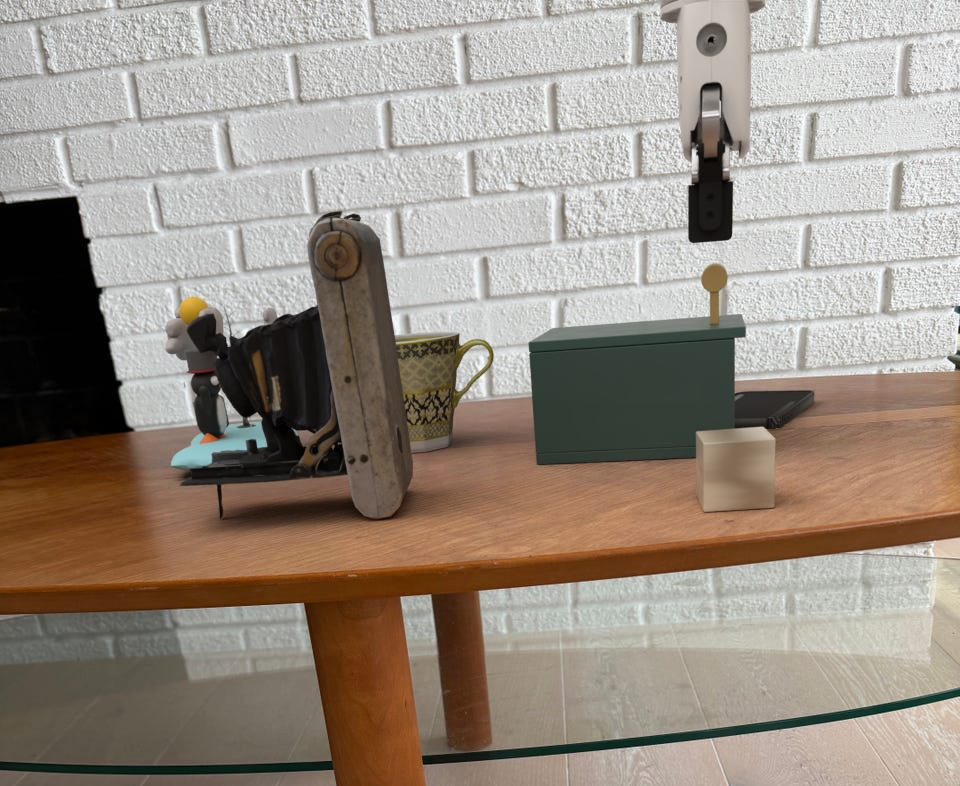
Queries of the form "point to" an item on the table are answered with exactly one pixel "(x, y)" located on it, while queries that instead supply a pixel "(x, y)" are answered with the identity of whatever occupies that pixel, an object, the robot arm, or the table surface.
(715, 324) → the lid
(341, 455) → the vintage camera
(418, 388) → the ceramic cup
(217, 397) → the penguin figurine
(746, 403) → the phone
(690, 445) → the chest
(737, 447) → the block
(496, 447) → the table surface
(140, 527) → the table surface
